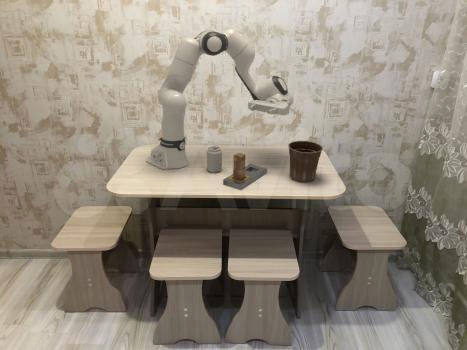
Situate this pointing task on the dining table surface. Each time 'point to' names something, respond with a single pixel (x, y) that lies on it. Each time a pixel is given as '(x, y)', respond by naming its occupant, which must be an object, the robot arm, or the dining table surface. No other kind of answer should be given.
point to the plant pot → (304, 160)
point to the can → (214, 159)
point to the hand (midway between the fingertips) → (260, 110)
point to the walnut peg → (239, 166)
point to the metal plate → (246, 177)
